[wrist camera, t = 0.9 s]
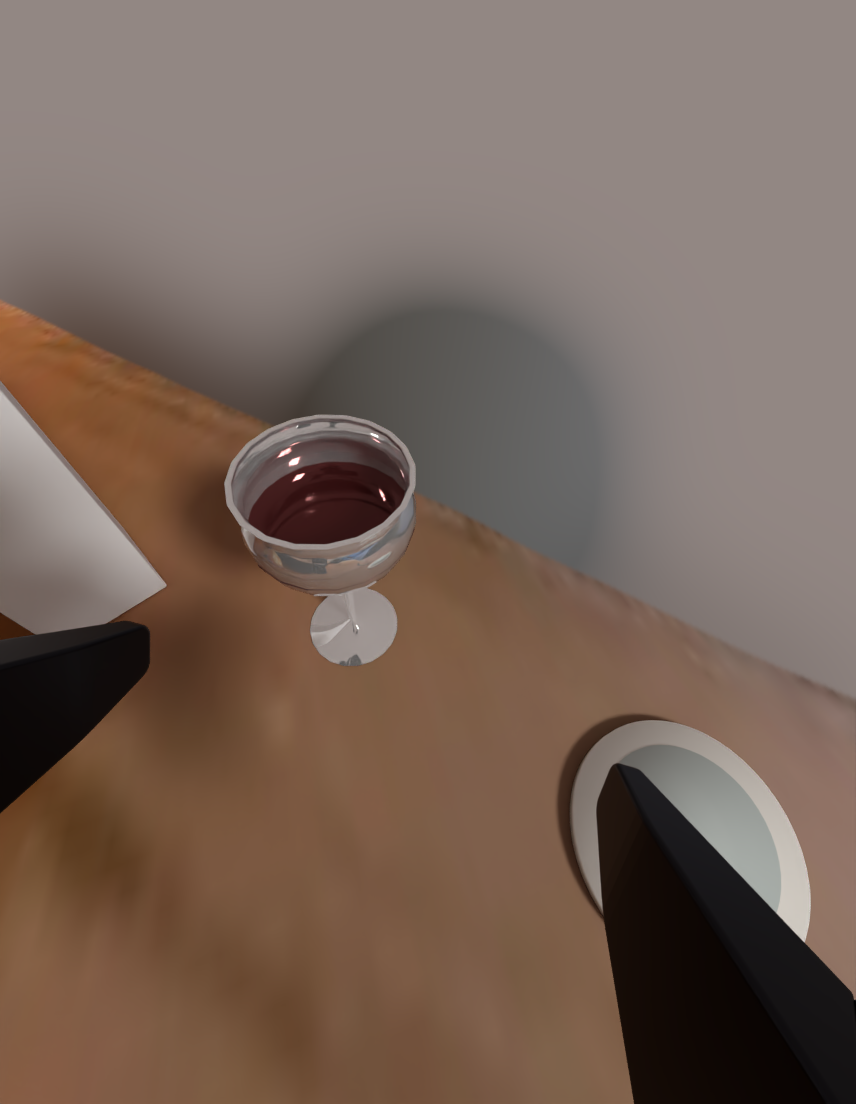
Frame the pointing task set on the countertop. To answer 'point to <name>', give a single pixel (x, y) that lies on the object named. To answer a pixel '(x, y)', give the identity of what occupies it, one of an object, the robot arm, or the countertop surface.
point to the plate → (699, 810)
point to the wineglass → (329, 522)
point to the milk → (59, 538)
